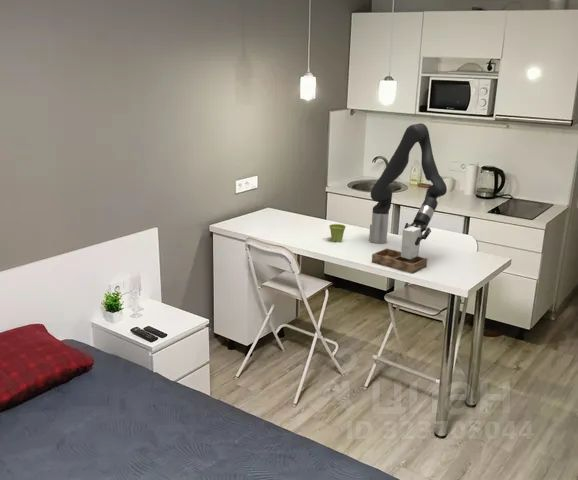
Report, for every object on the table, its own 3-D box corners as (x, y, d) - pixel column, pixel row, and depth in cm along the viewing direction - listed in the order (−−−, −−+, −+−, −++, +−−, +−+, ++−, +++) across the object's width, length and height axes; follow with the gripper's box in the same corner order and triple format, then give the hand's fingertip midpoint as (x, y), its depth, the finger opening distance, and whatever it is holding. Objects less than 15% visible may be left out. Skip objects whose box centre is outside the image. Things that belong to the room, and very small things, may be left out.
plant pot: (325, 239, 354) (326, 224, 351) (339, 237, 358) (340, 223, 355) (333, 243, 346) (334, 229, 343) (348, 241, 350) (348, 227, 347)
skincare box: (409, 253, 314) (411, 225, 309) (419, 256, 310) (421, 228, 305) (400, 257, 308) (402, 228, 303) (410, 260, 304) (412, 231, 300)
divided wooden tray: (371, 262, 316) (372, 254, 315) (386, 256, 326) (387, 248, 325) (412, 273, 301) (413, 264, 300) (426, 266, 311) (427, 258, 310)
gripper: (409, 209, 313) (395, 236, 308) (434, 214, 304) (420, 242, 299) (413, 217, 318) (400, 244, 313) (438, 222, 309) (425, 250, 304)
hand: (410, 243), depth 306 cm, fingers closed on skincare box, 6 cm apart
